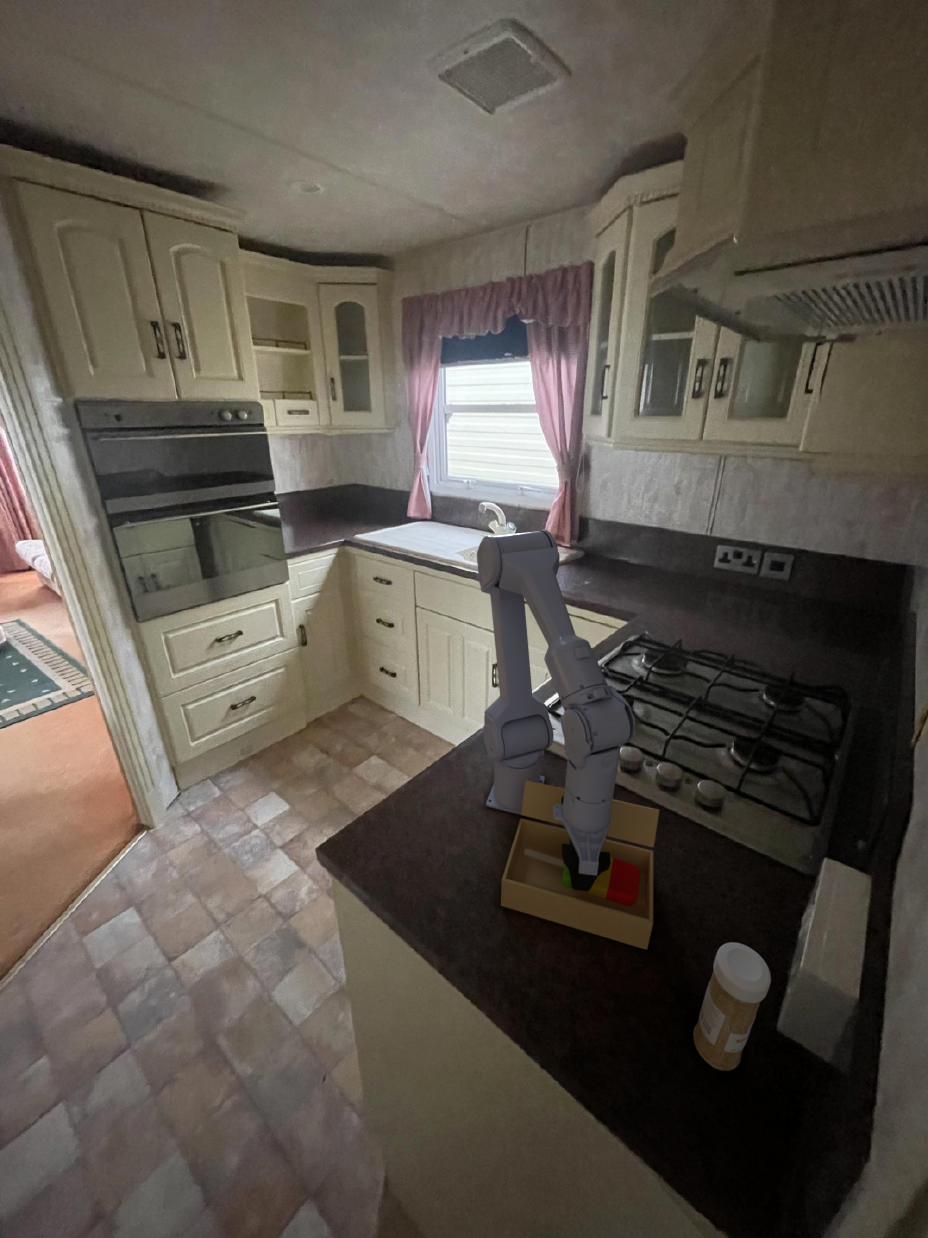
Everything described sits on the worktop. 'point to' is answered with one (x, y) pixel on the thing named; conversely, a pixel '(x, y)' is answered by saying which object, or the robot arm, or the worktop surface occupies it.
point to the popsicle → (604, 879)
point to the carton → (545, 896)
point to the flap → (625, 817)
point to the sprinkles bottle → (730, 1005)
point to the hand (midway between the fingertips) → (579, 866)
